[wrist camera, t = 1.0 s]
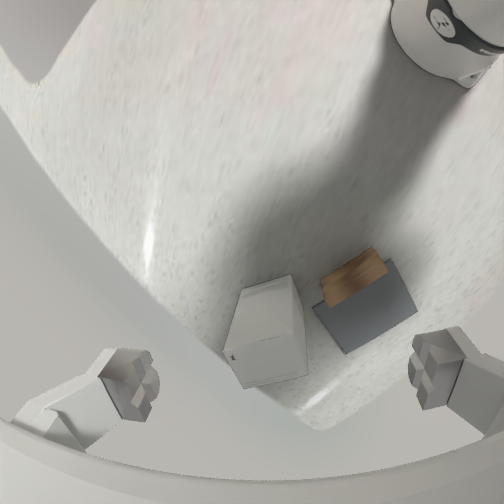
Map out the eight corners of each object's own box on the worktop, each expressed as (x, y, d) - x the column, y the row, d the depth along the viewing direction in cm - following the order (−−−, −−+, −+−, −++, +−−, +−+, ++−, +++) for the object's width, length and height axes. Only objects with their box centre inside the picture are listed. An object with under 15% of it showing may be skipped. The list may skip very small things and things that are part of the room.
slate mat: (390, 258, 42) (391, 259, 41) (417, 310, 44) (418, 311, 44) (312, 307, 46) (312, 309, 45) (345, 352, 48) (346, 354, 48)
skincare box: (254, 321, 48) (240, 391, 33) (239, 286, 46) (217, 350, 31) (306, 308, 46) (310, 378, 31) (293, 270, 44) (293, 333, 30)
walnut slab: (371, 246, 42) (383, 262, 36) (377, 255, 42) (388, 272, 36) (320, 279, 44) (324, 299, 39) (326, 288, 45) (330, 308, 39)
